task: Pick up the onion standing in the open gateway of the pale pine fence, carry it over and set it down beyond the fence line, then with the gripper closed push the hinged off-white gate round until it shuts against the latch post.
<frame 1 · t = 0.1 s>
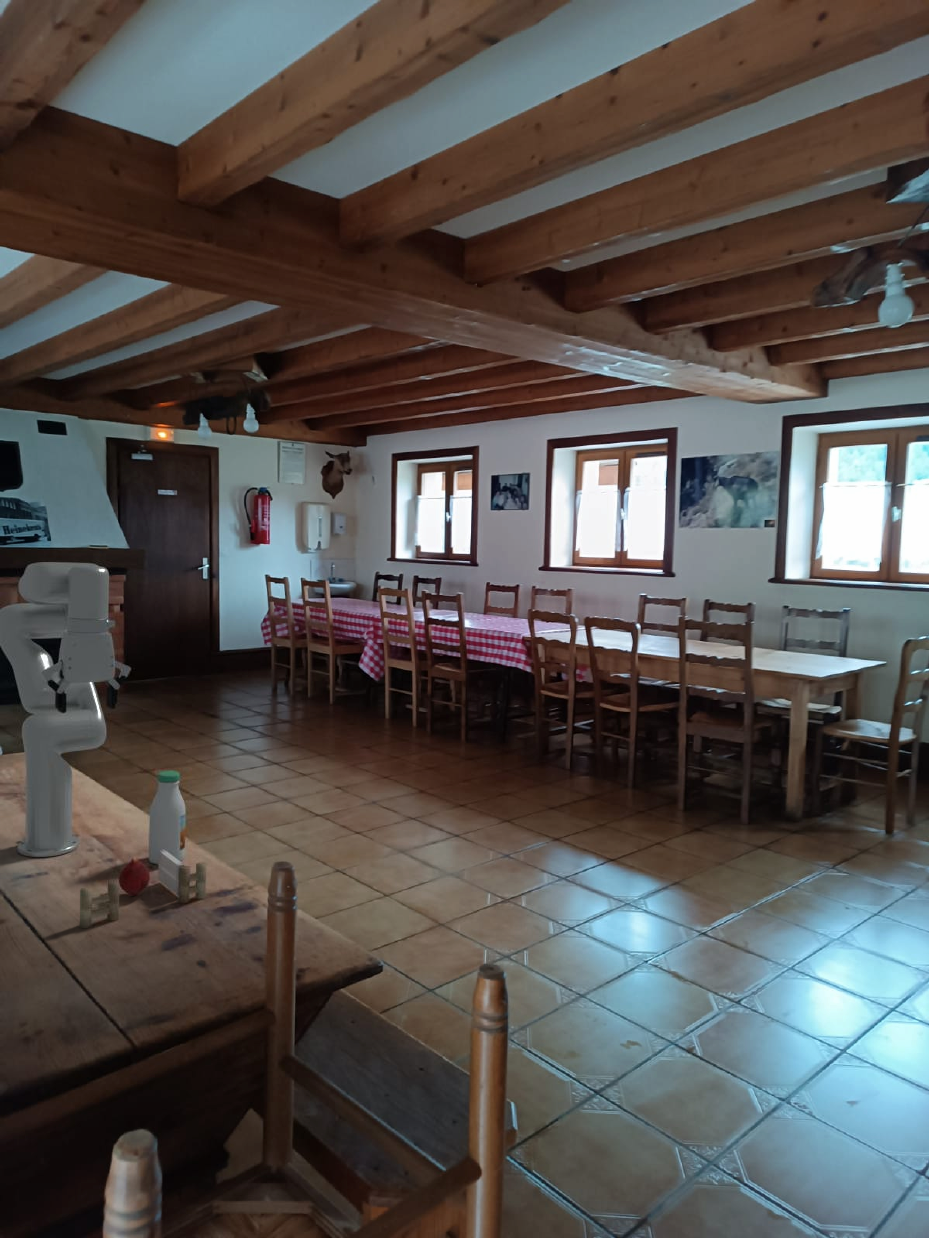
hand: (86, 709, 174), 37 cm above the table, tool pointing down, fingers open, 9 cm apart
gate: (171, 872, 176), point 4 cm above the table, hinge at 0.0°
fence: (118, 917, 163), on the table
onion: (133, 896, 173), on the table
milk bottle: (166, 860, 192), on the table
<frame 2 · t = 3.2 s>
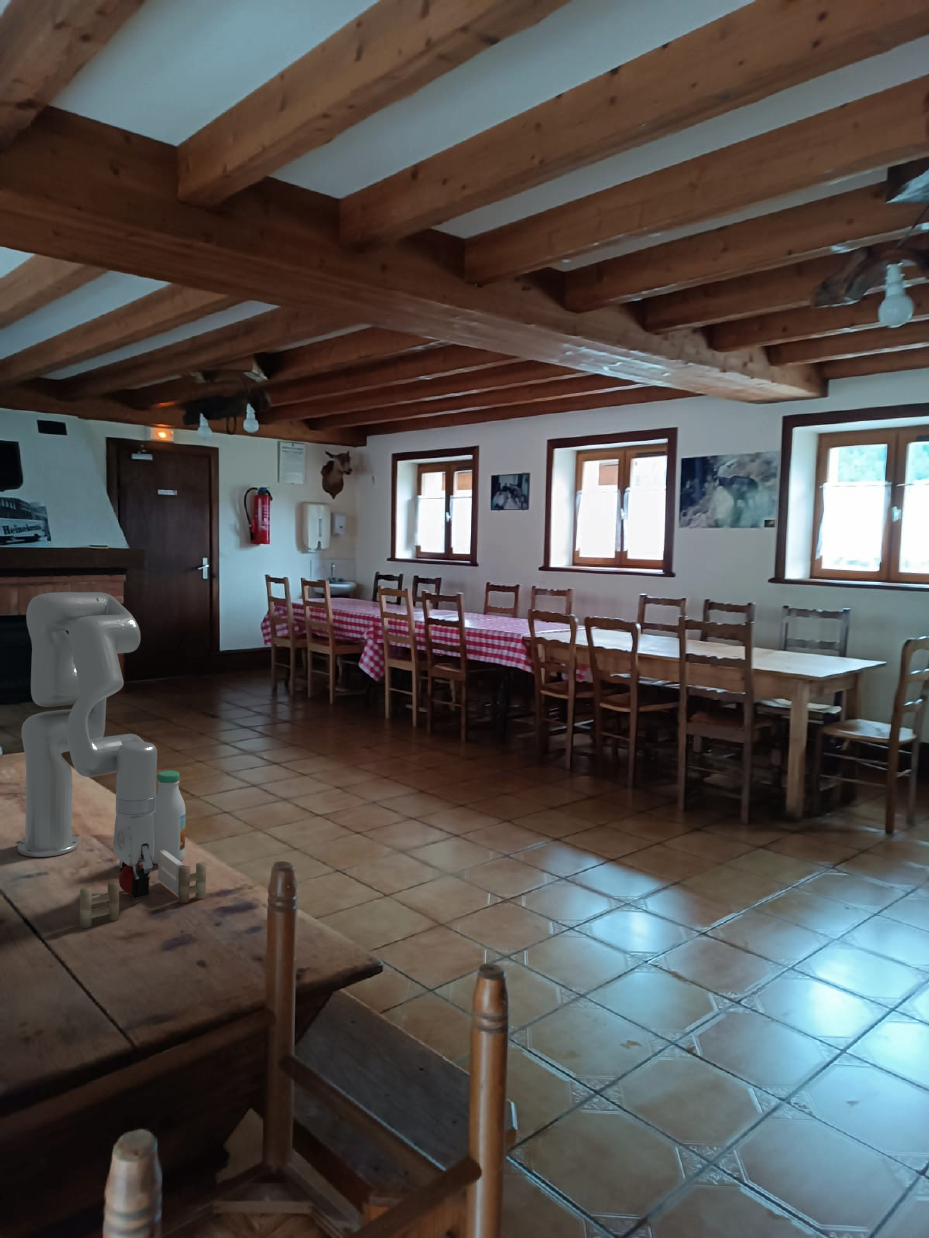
hand: (134, 890, 173), 1 cm above the table, tool pointing down, fingers closed on onion, 5 cm apart
onion: (133, 896, 173), on the table, touching gripper
everything else where it was.
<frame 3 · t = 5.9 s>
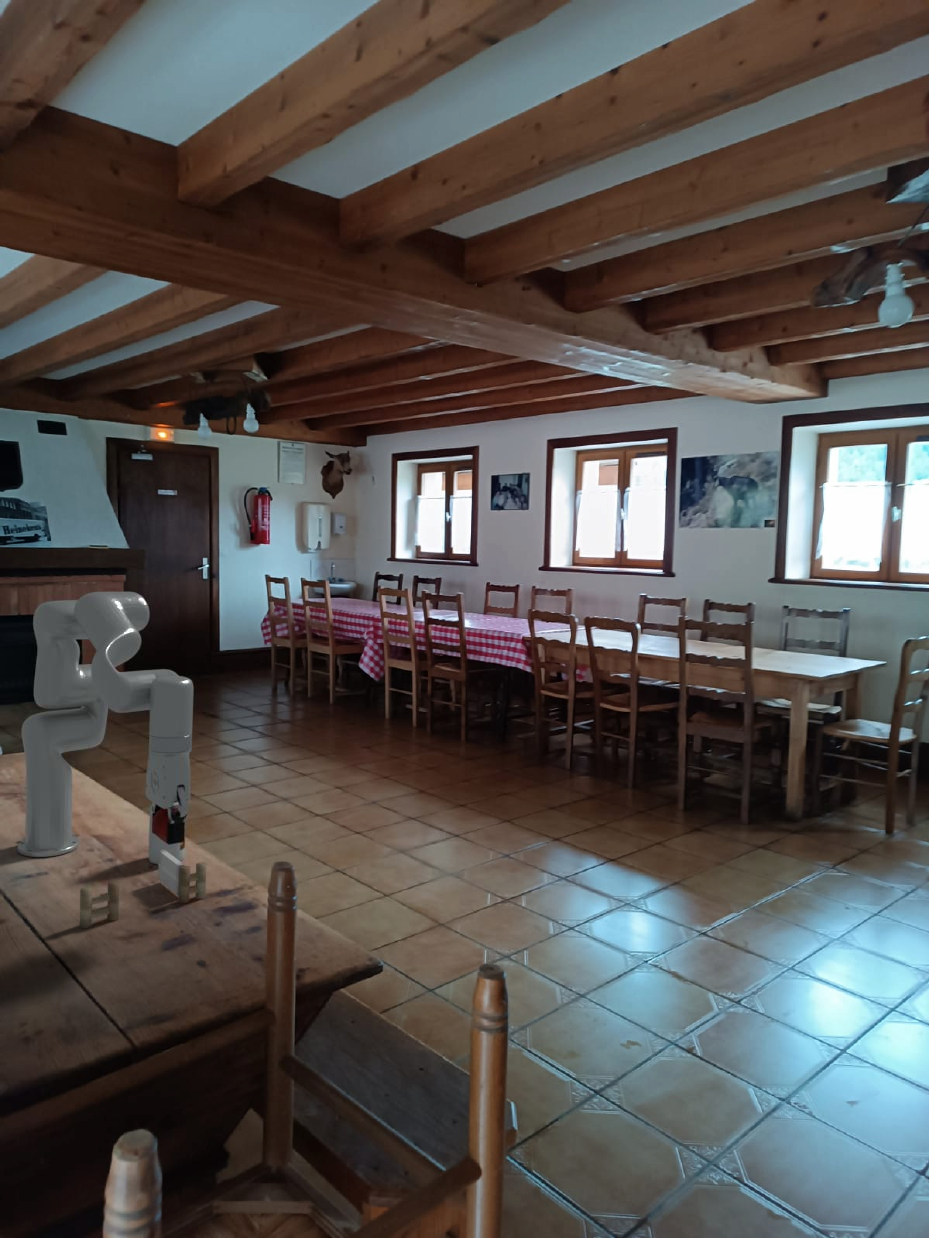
hand: (167, 836, 159), 17 cm above the table, tool pointing down, fingers closed on onion, 5 cm apart
onion: (167, 843, 159), point 16 cm above the table, touching gripper
everything else where it was.
when the fingers open (2 cm above the table, at t = 8.6 s): onion stays where it is, on the table.
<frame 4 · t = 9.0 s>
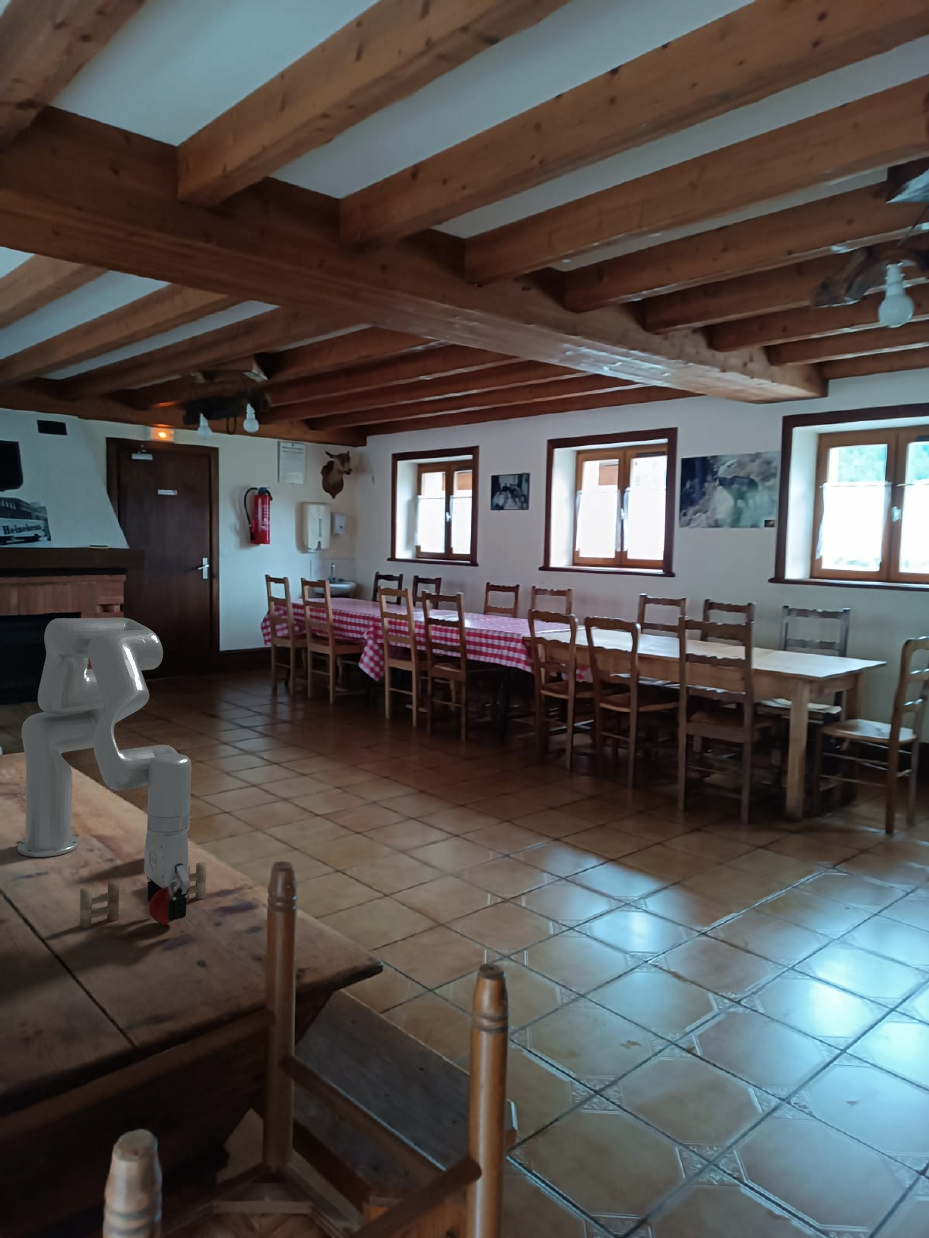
hand: (166, 909, 161), 3 cm above the table, tool pointing down, fingers open, 9 cm apart
onion: (165, 925, 161), on the table
everything else where it was.
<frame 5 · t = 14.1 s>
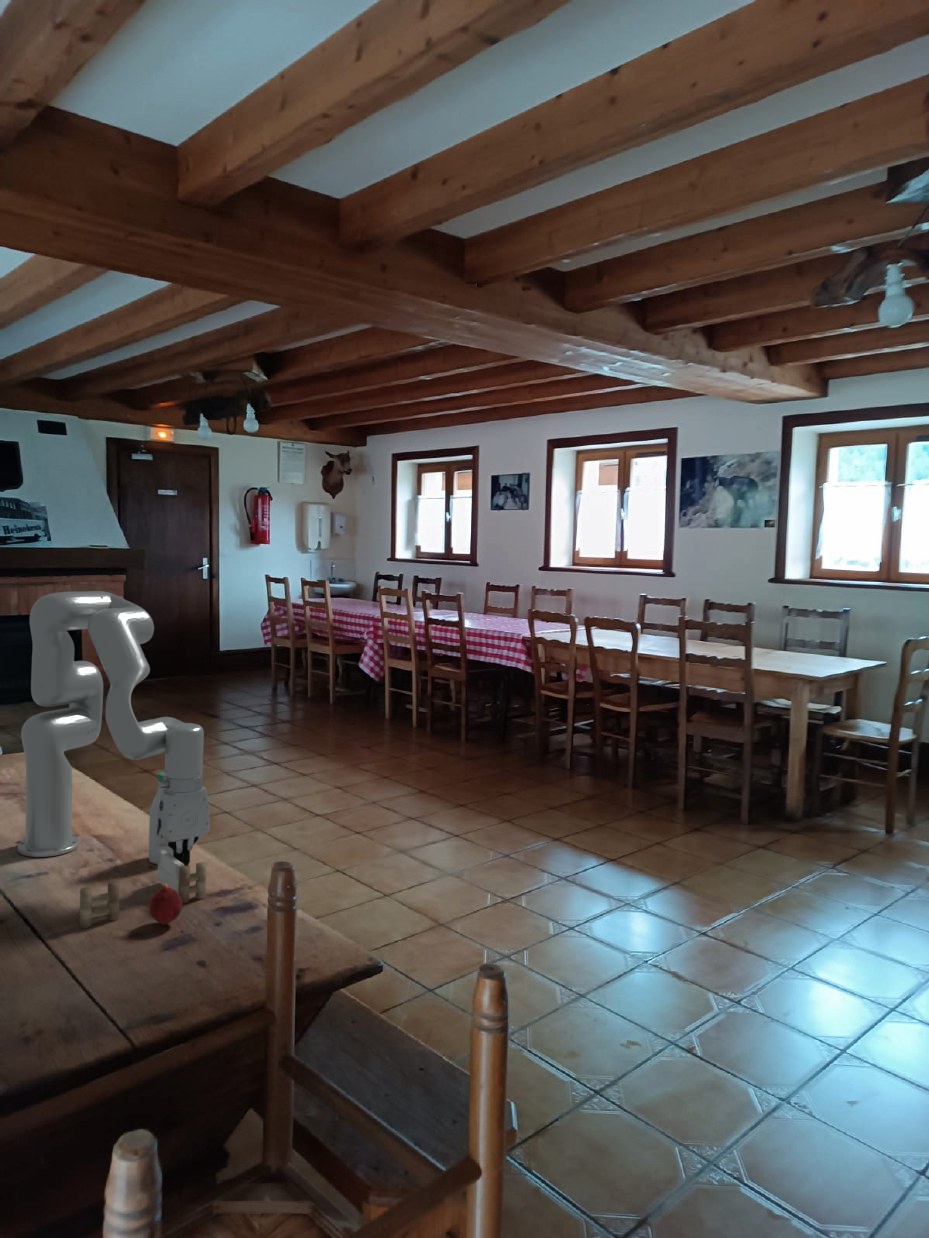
hand: (181, 868, 179), 4 cm above the table, tool pointing down, fingers closed
gate: (170, 872, 176), point 4 cm above the table, hinge at 0.6°, touching gripper
everything else where it was.
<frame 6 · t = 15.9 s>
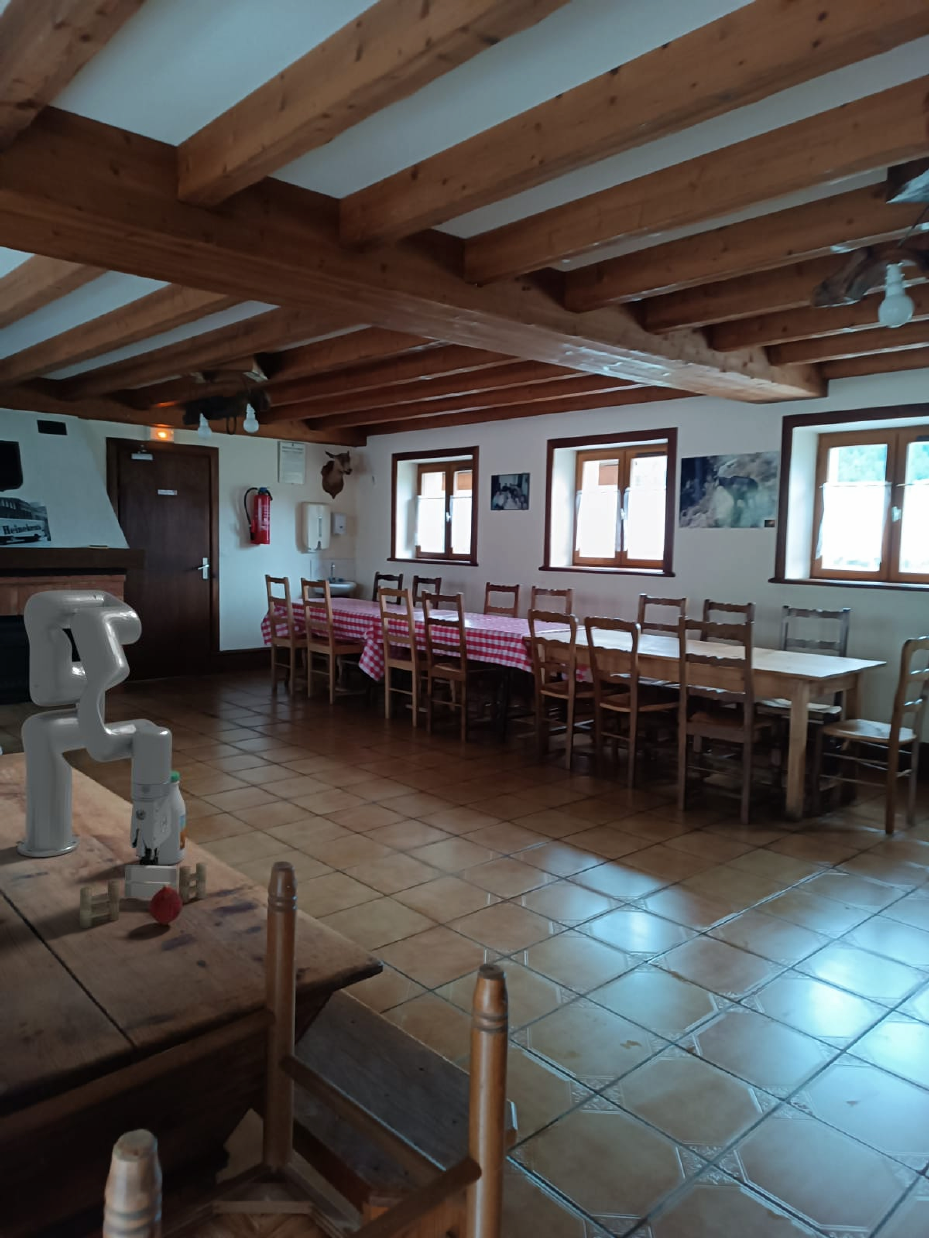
hand: (148, 876, 173), 4 cm above the table, tool pointing down, fingers closed
gate: (151, 881, 171), point 4 cm above the table, hinge at 52.1°, touching gripper
everything else where it was.
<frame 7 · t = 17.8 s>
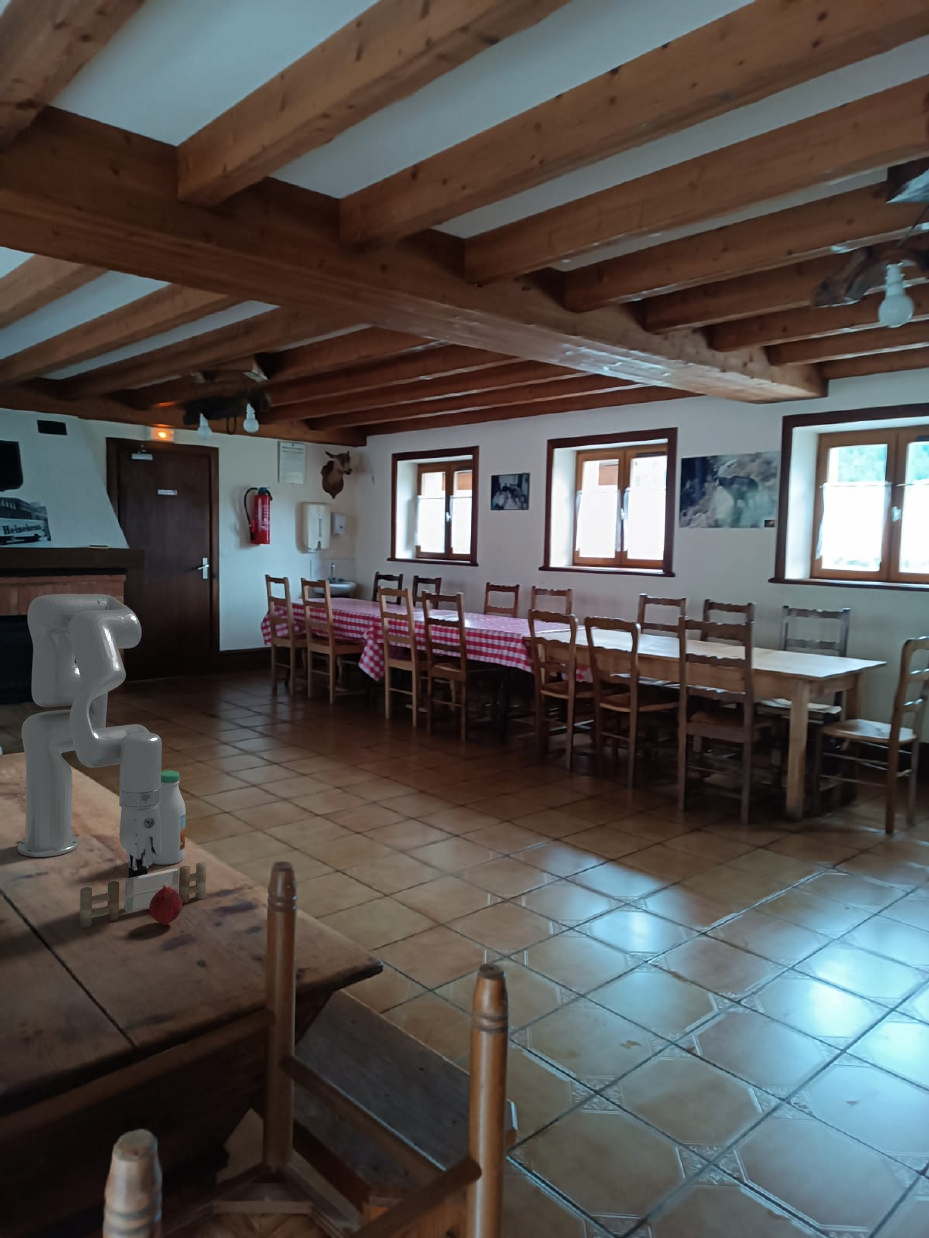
hand: (137, 886, 168), 4 cm above the table, tool pointing down, fingers closed
gate: (151, 889, 167), point 4 cm above the table, hinge at 88.3°
everything else where it was.
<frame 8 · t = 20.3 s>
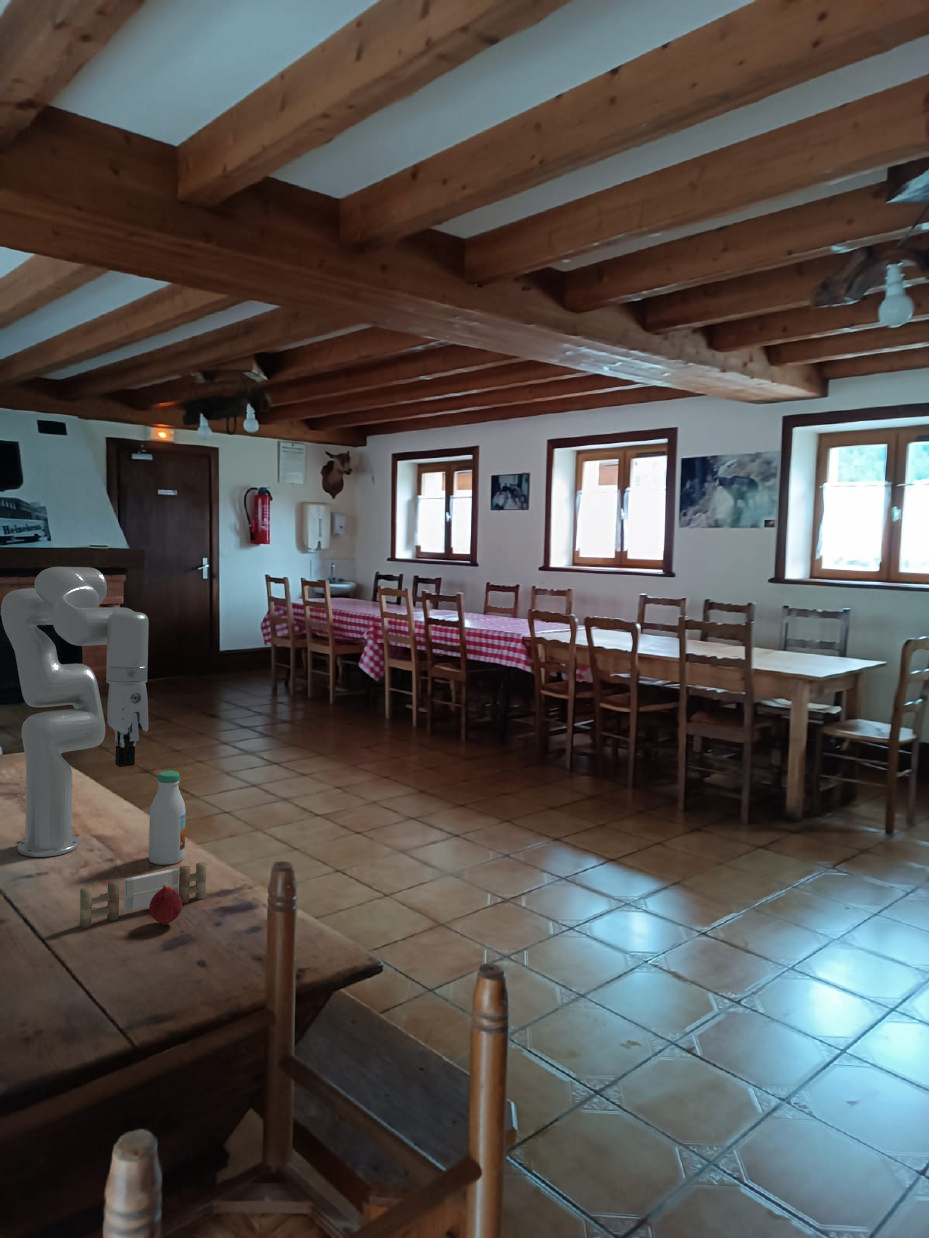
hand: (125, 765, 170), 27 cm above the table, tool pointing down, fingers closed
nothing on the table moved.
at the end: gate at +88° (first picture: +0°); onion inside the target area (3.1 cm from its centre), on the table; the gripper is holding nothing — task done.
